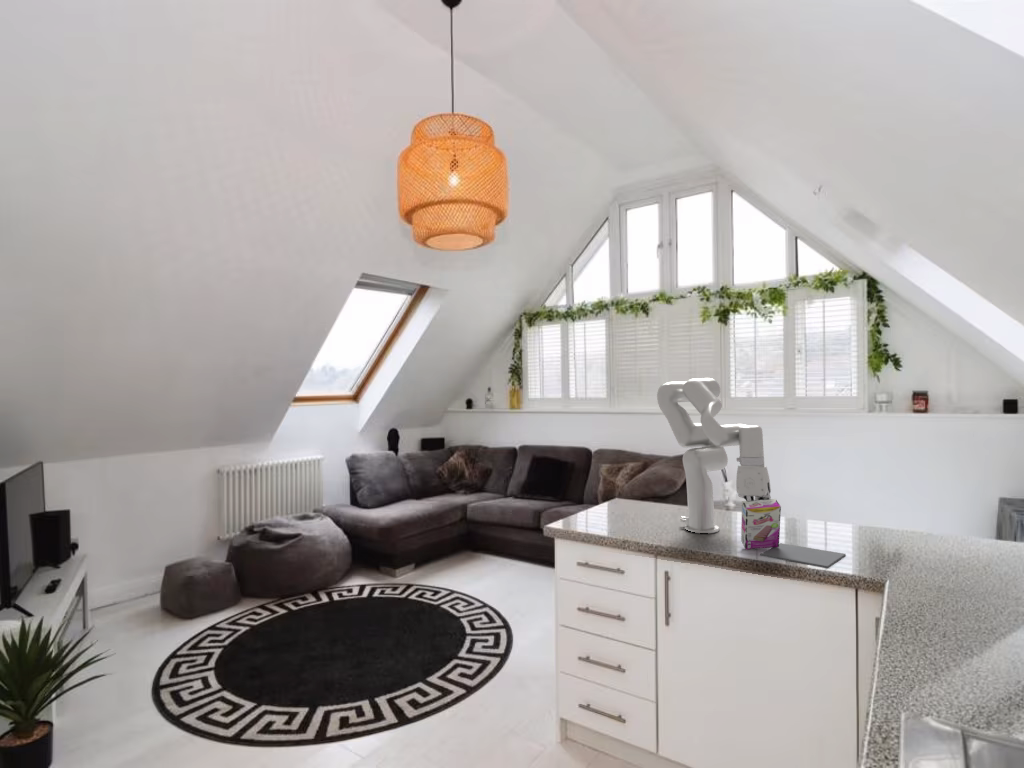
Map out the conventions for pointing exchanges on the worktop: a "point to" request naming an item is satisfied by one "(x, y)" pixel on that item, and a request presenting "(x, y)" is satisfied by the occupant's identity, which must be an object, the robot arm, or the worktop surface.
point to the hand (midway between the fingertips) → (755, 515)
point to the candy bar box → (760, 524)
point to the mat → (804, 555)
